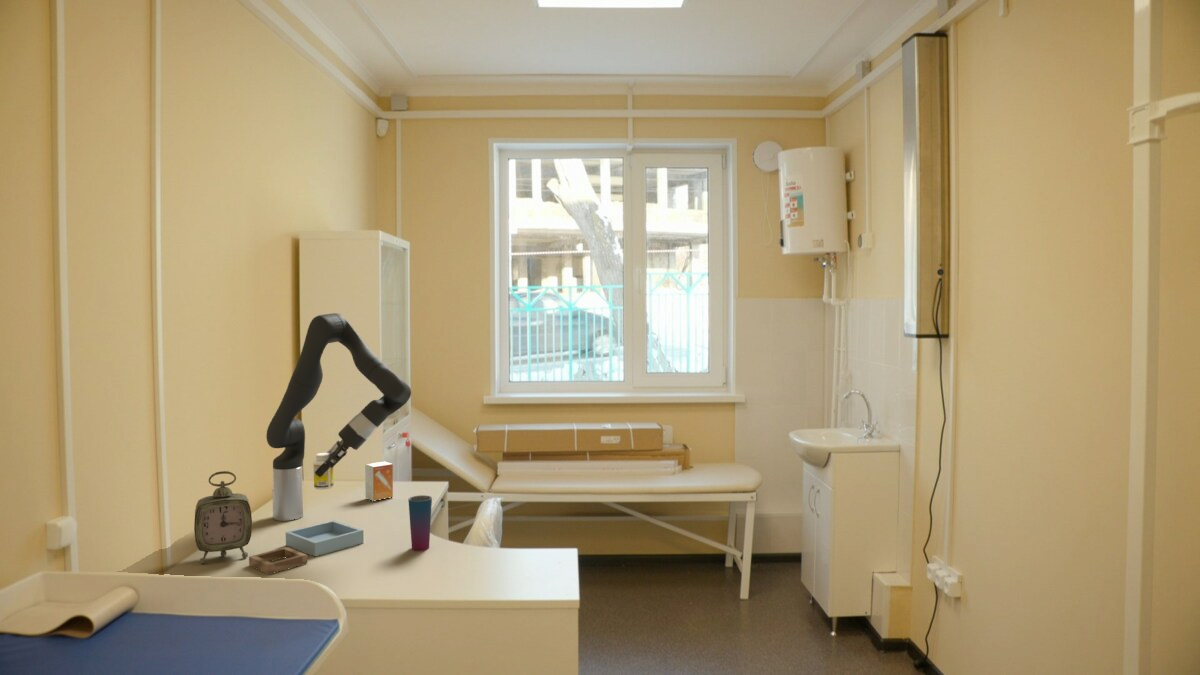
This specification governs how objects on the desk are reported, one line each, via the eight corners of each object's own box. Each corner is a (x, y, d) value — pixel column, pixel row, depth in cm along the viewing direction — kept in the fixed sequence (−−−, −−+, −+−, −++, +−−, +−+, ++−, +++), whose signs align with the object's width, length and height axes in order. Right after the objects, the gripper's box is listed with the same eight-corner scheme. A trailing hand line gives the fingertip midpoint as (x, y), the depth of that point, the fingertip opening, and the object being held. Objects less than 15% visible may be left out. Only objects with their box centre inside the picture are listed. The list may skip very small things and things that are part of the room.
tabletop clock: (195, 567, 211) (193, 477, 209) (195, 557, 219) (193, 470, 217) (252, 559, 217) (251, 471, 216) (250, 549, 225) (249, 465, 224)
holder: (249, 565, 212) (248, 556, 212) (286, 555, 221) (286, 546, 220) (269, 574, 205) (269, 565, 205) (307, 563, 214) (307, 554, 214)
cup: (436, 546, 229) (436, 496, 228) (422, 553, 223) (422, 502, 222) (418, 543, 232) (418, 494, 231) (403, 549, 226) (403, 499, 225)
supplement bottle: (327, 484, 234) (326, 451, 233) (337, 487, 230) (336, 453, 229) (310, 488, 229) (309, 454, 229) (320, 491, 226) (319, 456, 225)
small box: (373, 502, 278) (373, 466, 278) (365, 499, 283) (364, 464, 282) (393, 498, 284) (393, 463, 283) (385, 495, 288) (384, 460, 288)
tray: (285, 545, 229) (285, 532, 229) (333, 532, 242) (333, 520, 242) (315, 556, 219) (315, 543, 219) (363, 543, 232) (363, 530, 232)
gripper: (347, 418, 238) (307, 459, 234) (350, 426, 225) (307, 469, 221) (365, 434, 240) (325, 475, 237) (369, 443, 227) (327, 486, 223)
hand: (317, 472), depth 229 cm, fingers closed on supplement bottle, 5 cm apart
